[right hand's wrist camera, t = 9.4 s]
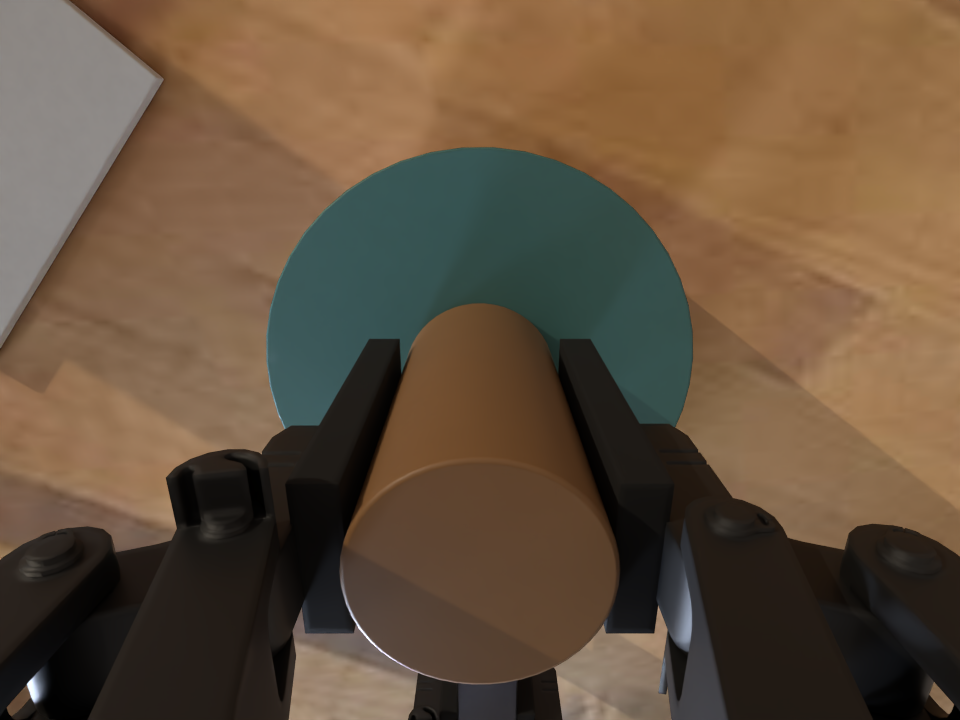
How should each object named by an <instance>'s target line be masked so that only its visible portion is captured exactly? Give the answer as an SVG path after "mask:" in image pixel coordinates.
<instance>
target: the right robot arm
mask: <svg viewBox="0 0 960 720" xmlns="http://www.w3.org/2000/svg"><path fill="white" fill-rule="evenodd" d="M558 376H559V378H560V381H561V384H562V387H563V390H564V393H565V396H566V399H567V401H568V404H569V407H570V410H571V413H572V416H573V419H574V422H575V424H576V427H577V430H578V433H579V436H580V439H581V442H582V445H583V447H584V450H585V453H586V456H587V459H588V462H589V465H590V468H591V471H592V473H593V476H594V479H595V482H596V485H597V488H598V491H599V494H600V496H601V499H602V502H603V505H604V508H605V511H606V514H607V517H608V519H609V522H610V525H611V528H612V531H613V534H614V537H615V540H616V543H617V548H618V552H619V559H620V578H619V586H618V590H617V594H616V598H615V601H614V604H613V606H612V609H611V611H610V613H609V616H608V617H607V619H606V620H605V622H604V627H605V631H606V633H654V631H655V624H656V617H657V609H658V606H659V608H660V611H661V613H662V616H663V618H664V621H665V623H666V626H667V629H668V632H667V638H666V645H665V652H664V659H663V666H662V672H661V679H660V686H659V693H661V694H666V692H667V687H668V693H669V702H670V710H671V719H672V720H960V557H959V556H958V555H957V554H956V553H954V552H953V551H951V550H950V549H948V548H946V547H945V546H943V545H942V544H940V543H939V542H937V541H935V540H933V539H930V538H928V537H926V536H924V535H921V534H920V533H918V532H916V531H913V530H910V529H907V528H905V529H903V528H902V527H898V526H893V525H880V524H869V525H863V526H857V527H856V528H855V529H854V530H852V531H851V532H850V533H849V535H848V539H847V542H846V546H845V550H842V549H837V548H832V547H826V546H821V545H816V544H811V543H806V542H802V541H798V540H794V539H790V538H787V535H786V533H785V531H784V529H783V527H782V526H781V525H780V524H779V522H778V521H777V520H776V519H775V517H774V516H772V515H771V514H769V513H768V512H766V511H765V510H763V509H762V508H760V507H758V506H756V505H753V504H751V503H748V502H746V501H743V500H739V499H734V498H732V496H731V495H730V493H729V492H728V491H727V489H726V488H725V486H724V485H723V484H722V482H721V481H720V480H719V478H718V477H717V475H716V474H715V473H714V471H713V470H712V469H711V467H710V466H709V465H707V464H706V460H705V459H704V457H703V456H702V455H701V453H698V449H697V448H696V446H695V445H694V444H693V442H692V441H691V440H690V438H689V437H688V436H687V435H686V434H684V433H683V432H681V431H680V430H678V429H676V428H675V427H673V426H672V425H670V424H640V423H639V422H638V420H637V418H636V417H635V415H634V413H633V411H632V410H631V408H630V406H629V404H628V403H627V401H626V399H625V398H624V396H623V394H622V392H621V391H620V389H619V387H618V386H617V384H616V382H615V380H614V379H613V377H612V375H611V373H610V372H609V370H608V368H607V367H606V365H605V363H604V361H603V360H602V358H601V356H600V355H599V353H598V351H597V349H596V348H595V346H594V344H593V342H592V341H591V339H560V347H559V367H558ZM400 377H401V354H400V339H369V340H368V342H367V344H366V345H365V347H364V349H363V350H362V352H361V354H360V356H359V357H358V359H357V361H356V362H355V364H354V366H353V368H352V369H351V371H350V373H349V375H348V376H347V378H346V380H345V381H344V383H343V385H342V387H341V388H340V390H339V392H338V393H337V395H336V397H335V399H334V400H333V402H332V404H331V406H330V407H329V409H328V411H327V412H326V414H325V416H324V418H323V419H322V421H321V423H320V424H319V425H291V426H289V427H288V428H286V429H285V430H283V431H282V432H280V433H279V434H277V435H275V436H274V437H272V439H271V440H270V441H269V443H268V444H267V445H266V447H265V448H264V450H263V451H262V455H261V454H260V453H258V452H254V451H250V450H246V449H227V450H222V451H216V452H210V453H207V454H204V455H201V456H198V457H195V458H192V459H190V460H188V461H186V462H185V463H183V464H181V465H179V466H178V467H176V468H175V469H174V470H173V471H172V472H171V473H170V474H169V475H168V476H167V477H166V481H167V485H168V490H169V494H170V499H171V503H172V508H173V512H174V517H175V522H176V526H177V530H176V532H175V534H174V536H173V539H172V541H168V542H164V543H160V544H156V545H151V546H146V547H141V548H136V549H131V550H126V551H121V552H115V548H114V544H113V540H112V537H111V535H110V534H108V533H107V532H106V531H105V530H103V529H99V528H94V527H77V528H66V529H61V530H58V531H56V532H55V531H53V532H50V533H46V534H44V535H42V536H40V537H38V538H36V539H34V540H32V541H29V542H27V543H25V544H23V545H21V546H20V547H18V548H17V549H15V550H14V551H12V552H11V553H9V554H8V555H6V556H5V557H3V558H2V559H1V560H0V720H289V711H290V703H291V694H292V686H293V677H294V669H295V660H296V652H295V645H294V638H293V632H292V631H293V628H294V625H295V623H296V620H297V618H298V615H299V613H300V610H301V607H302V612H303V619H304V627H305V633H354V629H355V626H356V623H355V621H354V620H353V618H352V616H351V614H350V612H349V610H348V607H347V605H346V602H345V599H344V595H343V592H342V588H341V581H340V572H339V571H340V555H341V551H342V546H343V542H344V539H345V536H346V533H347V530H348V527H349V524H350V521H351V519H352V516H353V513H354V510H355V507H356V504H357V501H358V498H359V495H360V493H361V490H362V487H363V484H364V481H365V478H366V475H367V472H368V469H369V467H370V464H371V461H372V458H373V455H374V452H375V449H376V446H377V443H378V441H379V438H380V435H381V432H382V429H383V426H384V423H385V420H386V417H387V415H388V412H389V409H390V406H391V403H392V400H393V397H394V394H395V391H396V389H397V386H398V383H399V380H400ZM934 682H935V683H936V684H937V685H938V687H939V688H940V689H941V690H942V691H943V692H944V693H945V694H946V696H947V697H948V698H949V699H950V700H951V701H952V702H953V703H954V707H953V709H952V712H951V713H950V714H947V713H946V712H945V711H944V710H943V709H942V708H941V707H939V706H938V704H937V703H936V702H935V701H934V700H933V699H932V697H931V696H930V695H929V693H930V691H931V688H932V685H933V683H934ZM26 685H27V687H28V689H29V692H30V695H31V698H30V699H29V700H28V702H27V703H26V704H25V705H24V706H23V707H22V708H21V709H20V710H19V711H18V712H17V713H15V714H14V715H13V716H12V717H11V716H10V715H9V713H8V711H7V708H6V707H7V706H8V705H9V704H10V703H11V702H12V700H13V699H14V698H15V697H16V696H17V695H18V694H19V693H20V691H21V690H22V689H23V688H24V687H25V686H26Z"/></svg>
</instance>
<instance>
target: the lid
mask: <svg viewBox="0 0 960 720" xmlns="http://www.w3.org/2000/svg"><path fill="white" fill-rule="evenodd" d="M369 339H400V354H401V377H400V380H399V383H398V386H397V389H396V391H395V394H394V397H393V400H392V403H391V406H390V409H389V412H388V415H387V417H386V420H385V423H384V426H383V429H382V432H381V435H380V438H379V441H378V443H377V446H376V449H375V452H374V455H373V458H372V461H371V464H370V467H369V469H368V472H367V475H366V478H365V481H364V484H363V487H362V490H361V493H360V495H359V498H358V501H357V504H356V507H355V510H354V513H353V516H352V519H351V521H350V524H349V527H348V530H347V533H346V536H345V539H344V542H343V546H342V551H341V555H340V571H339V572H340V581H341V588H342V592H343V595H344V599H345V602H346V605H347V607H348V610H349V612H350V614H351V616H352V618H353V620H354V621H355V623H356V624H357V626H358V627H359V629H360V630H361V632H362V633H363V634H364V635H365V636H366V637H367V639H368V640H369V641H370V642H371V643H372V644H373V645H374V646H376V647H377V648H378V649H379V650H380V651H381V652H382V653H384V654H385V655H387V656H388V657H389V658H391V659H392V660H394V661H395V662H397V663H399V664H401V665H403V666H404V667H406V668H408V669H410V670H413V671H415V672H418V673H420V674H422V675H425V676H429V677H432V678H435V679H439V680H444V681H449V682H454V683H463V684H496V683H506V682H511V681H516V680H521V679H524V678H528V677H531V676H534V675H537V674H540V673H542V672H544V671H547V670H549V669H551V668H553V667H555V666H557V665H559V664H561V663H562V662H564V661H566V660H567V659H569V658H570V657H572V656H573V655H574V654H576V653H577V652H578V651H580V650H581V649H582V648H583V647H584V646H585V645H586V644H587V643H588V642H589V641H590V640H591V639H592V638H593V637H594V636H595V635H596V633H597V632H598V631H599V630H600V628H601V627H602V625H603V624H604V622H605V620H606V619H607V617H608V616H609V613H610V611H611V609H612V606H613V604H614V601H615V598H616V594H617V590H618V586H619V578H620V559H619V552H618V548H617V543H616V540H615V537H614V534H613V531H612V528H611V525H610V522H609V519H608V517H607V514H606V511H605V508H604V505H603V502H602V499H601V496H600V494H599V491H598V488H597V485H596V482H595V479H594V476H593V473H592V471H591V468H590V465H589V462H588V459H587V456H586V453H585V450H584V447H583V445H582V442H581V439H580V436H579V433H578V430H577V427H576V424H575V422H574V419H573V416H572V413H571V410H570V407H569V404H568V401H567V399H566V396H565V393H564V390H563V387H562V384H561V381H560V378H559V376H558V367H559V347H560V339H591V341H592V342H593V344H594V346H595V348H596V349H597V351H598V353H599V355H600V356H601V358H602V360H603V361H604V363H605V365H606V367H607V368H608V370H609V372H610V373H611V375H612V377H613V379H614V380H615V382H616V384H617V386H618V387H619V389H620V391H621V392H622V394H623V396H624V398H625V399H626V401H627V403H628V404H629V406H630V408H631V410H632V411H633V413H634V415H635V417H636V418H637V420H638V422H639V423H640V424H670V425H672V426H673V427H676V424H677V422H678V419H679V417H680V415H681V412H682V410H683V407H684V403H685V399H686V396H687V392H688V388H689V384H690V377H691V369H692V361H693V331H692V325H691V318H690V312H689V305H688V302H687V299H686V295H685V292H684V289H683V286H682V282H681V279H680V277H679V275H678V273H677V271H676V268H675V266H674V264H673V262H672V260H671V258H670V256H669V254H668V252H667V251H666V249H665V248H664V246H663V245H662V243H661V242H660V240H659V239H658V237H657V236H656V234H655V233H654V231H653V230H652V228H651V227H650V226H649V225H648V224H647V223H646V222H645V221H644V220H643V218H642V217H641V216H640V215H639V214H638V213H637V212H636V211H635V209H634V208H633V207H631V206H630V205H629V204H628V203H627V202H625V201H624V200H623V199H622V198H621V197H620V196H618V195H617V194H616V193H615V192H614V191H612V190H611V189H610V188H608V187H607V186H605V185H603V184H602V183H600V182H599V181H597V180H595V179H594V178H592V177H591V176H589V175H587V174H586V173H584V172H582V171H580V170H577V169H575V168H573V167H570V166H568V165H566V164H564V163H561V162H559V161H557V160H554V159H550V158H547V157H543V156H539V155H536V154H532V153H529V152H525V151H518V150H510V149H502V148H495V147H475V148H456V149H449V150H443V151H436V152H430V153H426V154H423V155H420V156H416V157H413V158H410V159H406V160H403V161H400V162H398V163H395V164H393V165H391V166H389V167H387V168H385V169H382V170H380V171H378V172H376V173H374V174H372V175H370V176H369V177H367V178H365V179H364V180H362V181H361V182H359V183H358V184H356V185H354V186H353V187H351V188H350V189H348V190H347V191H345V192H344V193H343V194H342V195H341V196H340V197H339V198H337V199H336V200H335V201H334V202H333V203H332V204H330V205H329V206H328V207H327V208H326V209H325V210H324V211H323V212H322V213H321V214H320V215H319V216H318V218H317V219H316V220H315V221H314V222H313V223H312V225H311V226H310V227H309V228H308V229H307V230H306V231H305V233H304V234H303V236H302V237H301V239H300V241H299V242H298V244H297V245H296V247H295V248H294V250H293V251H292V253H291V255H290V256H289V258H288V260H287V263H286V265H285V267H284V269H283V272H282V274H281V276H280V278H279V280H278V283H277V286H276V290H275V293H274V297H273V300H272V304H271V307H270V313H269V321H268V328H267V367H268V374H269V381H270V388H271V391H272V395H273V398H274V401H275V405H276V408H277V412H278V414H279V417H280V419H281V421H282V423H283V426H284V428H285V429H286V428H288V427H289V426H291V425H319V424H320V423H321V421H322V419H323V418H324V416H325V414H326V412H327V411H328V409H329V407H330V406H331V404H332V402H333V400H334V399H335V397H336V395H337V393H338V392H339V390H340V388H341V387H342V385H343V383H344V381H345V380H346V378H347V376H348V375H349V373H350V371H351V369H352V368H353V366H354V364H355V362H356V361H357V359H358V357H359V356H360V354H361V352H362V350H363V349H364V347H365V345H366V344H367V342H368V340H369Z"/></svg>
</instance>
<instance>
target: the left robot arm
mask: <svg viewBox="0 0 960 720" xmlns="http://www.w3.org/2000/svg"><path fill="white" fill-rule="evenodd" d="M408 720H458V711H457V683H454V682H449V681H444V680H439V679H435V678H432V677H429V676H425V675H422V674H420V673H418V678H417V686H416V694H415V702H414V709H413V710H412V711H411V713H410V714H409V718H408ZM517 720H562V714H561V706H560V699H559V691H558V684H557V677H556V670H555V669H554V667H553V668H551V669H549V670H547V671H544V672H542V673H540V674H537V675H534V676H531V677H528V678H524V679H521V680H518V689H517Z"/></svg>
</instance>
